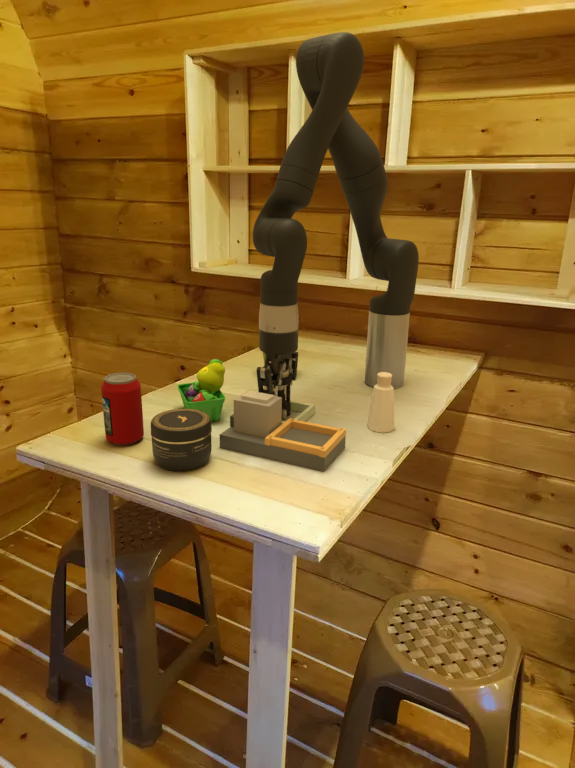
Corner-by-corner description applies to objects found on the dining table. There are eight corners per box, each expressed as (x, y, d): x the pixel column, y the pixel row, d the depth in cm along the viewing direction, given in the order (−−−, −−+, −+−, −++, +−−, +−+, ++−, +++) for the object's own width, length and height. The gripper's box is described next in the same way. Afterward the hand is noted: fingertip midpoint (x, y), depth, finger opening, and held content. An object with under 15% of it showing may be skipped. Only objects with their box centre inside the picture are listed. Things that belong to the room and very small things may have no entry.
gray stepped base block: (246, 427, 113) (245, 382, 110) (345, 448, 105) (347, 400, 102) (218, 447, 104) (217, 399, 101) (324, 471, 96) (326, 420, 93)
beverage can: (112, 431, 110) (107, 370, 106) (148, 432, 110) (144, 371, 106) (100, 447, 104) (94, 383, 100) (138, 448, 104) (133, 384, 100)
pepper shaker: (393, 434, 111) (397, 379, 107) (364, 431, 112) (368, 376, 109) (396, 423, 116) (400, 370, 112) (368, 420, 117) (372, 368, 114)
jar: (185, 442, 106) (184, 403, 104) (224, 459, 100) (223, 417, 98) (140, 461, 99) (137, 419, 96) (179, 480, 93) (177, 436, 90)
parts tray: (264, 403, 125) (264, 395, 124) (314, 413, 120) (315, 404, 120) (237, 422, 115) (237, 414, 114) (291, 433, 110) (291, 424, 110)
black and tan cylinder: (277, 426, 114) (278, 377, 110) (256, 419, 117) (256, 372, 113) (297, 416, 119) (298, 369, 115) (276, 410, 122) (276, 364, 118)
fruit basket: (177, 407, 122) (174, 355, 119) (218, 402, 125) (217, 351, 122) (188, 427, 112) (186, 371, 109) (233, 421, 115) (232, 367, 112)
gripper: (279, 337, 104) (279, 424, 110) (311, 320, 116) (309, 400, 122) (242, 332, 107) (244, 417, 113) (277, 316, 119) (277, 394, 125)
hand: (278, 408), depth 117 cm, fingers closed on black and tan cylinder, 5 cm apart
